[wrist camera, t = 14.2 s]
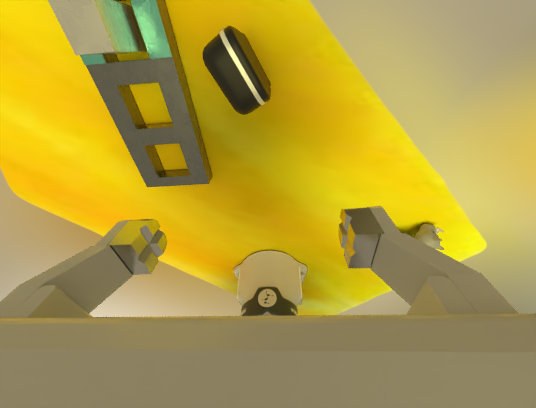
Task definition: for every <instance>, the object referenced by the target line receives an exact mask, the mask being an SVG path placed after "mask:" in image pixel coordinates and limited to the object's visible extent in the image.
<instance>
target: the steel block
mask: <svg viewBox="0 0 536 408" xmlns="http://www.w3.org/2000/svg"><path fill="white" fill-rule="evenodd" d="M48 1H49V3H50V5H51V7H52V9H53V11H54V13H55V15H56V17H57V19H58V21H59V23H60V25H61V27H62V29H63V31H64V33H65V35H66V37H67V39H68V41H69V42H70V44H71V46H72V48H73V50H74V52H75V54H76V55H101V54H128V53H139V52H148V51H147V48H146V45H145V42H144V39H143V36H142V33H141V30H140V28H139V25H138V22H137V19H136V16H135V13H134V10H133V7H132V6H129V5H126V4H123V3H119V2H116V1H113V0H48Z"/></svg>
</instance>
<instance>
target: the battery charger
mask: <svg viewBox="0 0 536 408" xmlns="http://www.w3.org/2000/svg"><path fill="white" fill-rule="evenodd" d="M203 60H204V63H205V65H206V67H207V68H208V70H209V72H210V73H211V75H212V76H213V78H214V79H215V81H216V82H217V84H218V85H219V87H220V88H221V90H222V91H223V93H224V94H225V96H226V97H227V99H228V100H229V102H230V103H231V105H232V106H233V108H234V109H235V110H236V111H237V112H238V113H240V114H243V115H245V114H248V113H250V112H252V111H253V110H255V109H256V108H258V107H259V106H261V105H264V104H265V103H266V102H267V101H268V100H269V99H270V82H269V80H268V78H267V76H266V74H265V72H264V70H263V68H262V66H261V64H260V63H259V61H258V59H257V57H256V55H255V53H254V51H253V49H252V47H251V46H250V44H249V42H248V40H247V38H246V36H245V35H244V34H243V33H241V32H240V31H238V30H237V29H236V28H234V27H232V26H228V27H226V28H223V29H222V30H221V31H220V32H219V34H218V35H217V36H216V37H215V38H214V39H213V40H212V41H210V42H209V43H208V44H207V45H206V47H205V48H204V50H203Z"/></svg>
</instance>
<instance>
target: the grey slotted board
mask: <svg viewBox="0 0 536 408" xmlns="http://www.w3.org/2000/svg"><path fill="white" fill-rule="evenodd" d="M113 1H121V0H113ZM130 1H131V4H132V7H133V10H134V13H135V16H136V19H137V22H138V25H139V28H140V30H141V33H142V36H143V39H144V42H145V45H146V48H147V51H148V54H149V57H150V59H144V60H134V61H124V62H119V61H118V59H117V56H116V54H101V55H80V56H81V58H82V60H83V62H84V64H85V65H86V67H87V68H88V70H89V72H90V74H91V76H92V78H93V80H94V82H95V84H96V86H97V88H98V90H99V92H100V94H101V96H102V98H103V100H104V102H105V104H106V106H107V108H108V110H109V112H110V114H111V116H112V118H113V120H114V122H115V124H116V126H117V128H118V130H119V132H120V134H121V136H122V138H123V140H124V142H125V144H126V146H127V148H128V150H129V152H130V154H131V156H132V158H133V160H134V162H135V164H136V166H137V168H138V170H139V172H140V174H141V176H142V178H143V180H144V182H145V184H146V186H147V187H158V186H176V185H193V184H209V183H210V180H211V178H212V173H211V169H210V166H209V162H208V158H207V154H206V151H205V147H204V143H203V140H202V136H201V132H200V129H199V125H198V121H197V117H196V114H195V110H194V106H193V103H192V99H191V95H190V92H189V88H188V84H187V80H186V77H185V73H184V69H183V66H182V62H181V58H180V55H179V51H178V47H177V43H176V40H175V36H174V32H173V29H172V25H171V21H170V17H169V14H168V10H167V6H166V3H165V0H130ZM151 82H159V85H160V87H161V90H162V93H163V96H164V99H165V102H166V105H167V108H168V111H169V114H170V117H171V120H172V123H159V124H146V125H145V123H144V121H143V118H142V116H141V114H140V111H139V109H138V106H137V104H136V102H135V99H134V97H133V95H132V92H131V90H130V87H129V84H140V83H151ZM173 143H180V146H181V149H182V152H183V155H184V158H185V161H186V164H187V167H188V169H184V170H168V171H164V168H163V166H162V163H161V161H160V159H159V156H158V154H157V152H156V149H155V147H154V145H159V144H173Z"/></svg>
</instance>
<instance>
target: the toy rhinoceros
mask: <svg viewBox="0 0 536 408" xmlns="http://www.w3.org/2000/svg"><path fill="white" fill-rule="evenodd" d="M437 231H441V232H444V231H443V230H442V229H440V228H438V227H435V226H433V225H431V224H423V225H421V226H420V228H419V231H418V232H417V233H416V234H415V235H414V238H415V239H417V240H419V241H421V242H423V243H425V244H426V245H428V246H430V247H432V248H434V249H436V248H437V249H440V250H444V248H443V247H441V246H440V241H442V240H441V239H439V237H438V235H437V234H438V232H437Z"/></svg>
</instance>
